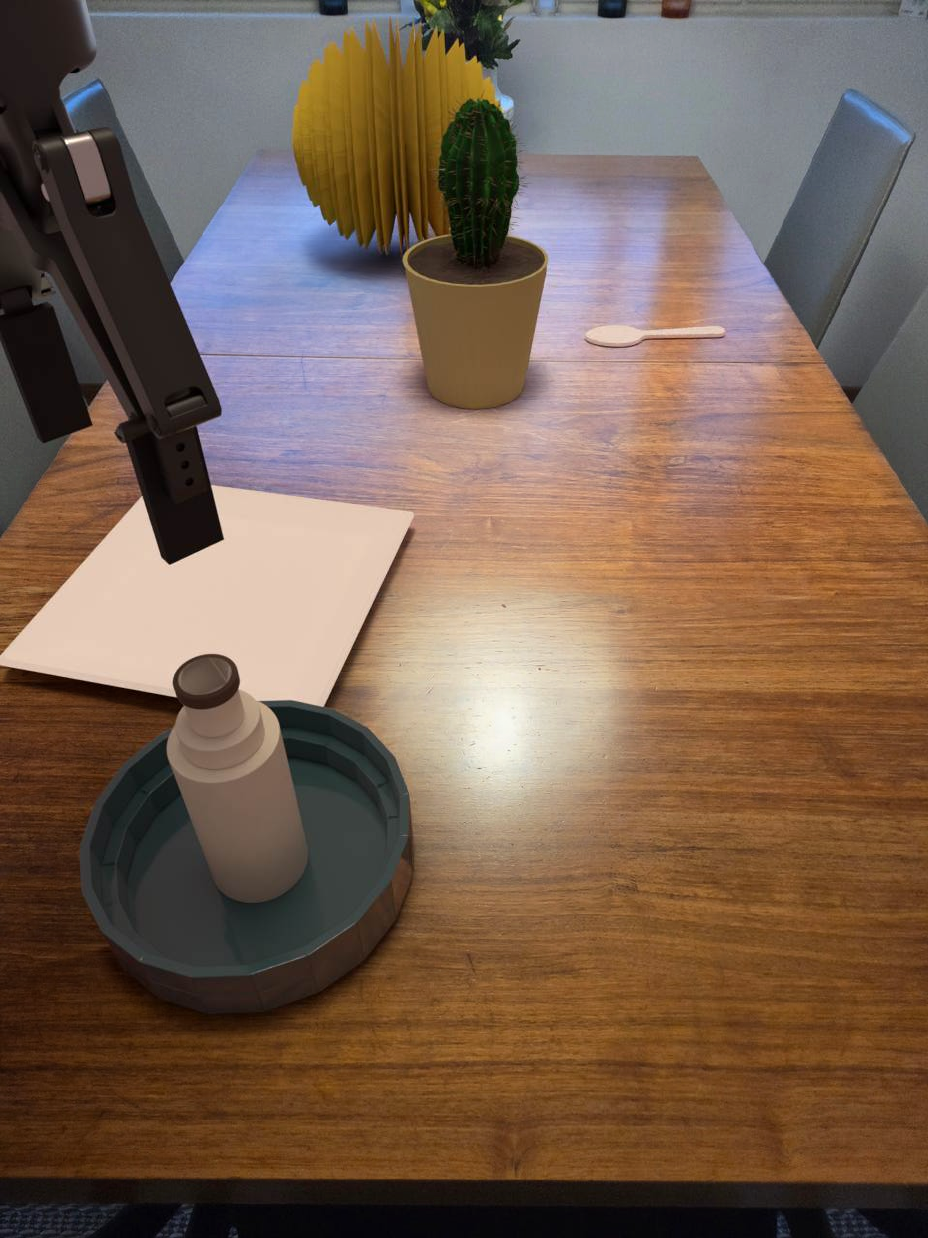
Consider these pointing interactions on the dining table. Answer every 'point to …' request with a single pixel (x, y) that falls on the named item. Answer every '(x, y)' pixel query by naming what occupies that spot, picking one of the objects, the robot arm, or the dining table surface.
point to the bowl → (252, 932)
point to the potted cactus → (476, 268)
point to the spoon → (645, 334)
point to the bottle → (236, 782)
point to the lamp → (381, 132)
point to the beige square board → (221, 598)
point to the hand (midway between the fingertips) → (123, 485)
